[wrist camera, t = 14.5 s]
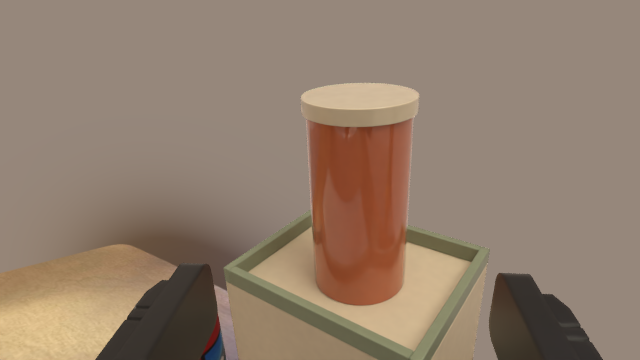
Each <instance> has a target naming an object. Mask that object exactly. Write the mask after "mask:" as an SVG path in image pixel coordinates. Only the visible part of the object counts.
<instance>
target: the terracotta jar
mask: <svg viewBox="0 0 640 360" xmlns="http://www.w3.org/2000/svg"><path fill="white" fill-rule="evenodd" d="M418 107H419V94H418V92H417V91H415V90H413V89H410V88H407V87H404V86H399V85H392V84H382V83H381V84H380V83H348V84H337V85H329V86H324V87H319V88H316V89H312V90H310V91H307V92H305V93H304V94H302V96H301V110H302V115H303V116H304V117H305V118H306V124H307V125H306V126H307V144H308V162H309V182H310V200H311V219H312V237H313V255H314V274H315V282H316V284H317V286H318V288H319V289H320V290H321V291H322V292H323V293H324V294H325V295H326V296H328V297H329V298H331V299H333V300H335V301H338V302H341V303H344V304H349V305H361V306H363V305H373V304H378V303H381V302H384V301H387V300H388V299H390V298H392V297H393V296H395V295H396V294H397V293H398V292H399V291H400V290H401V288H402V286H403V284H404V279H405V261H406V243H407V226H408V208H409V190H410V171H411V154H412V136H413V118H414V116H416V114H417V113H418Z"/></svg>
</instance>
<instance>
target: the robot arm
mask: <svg viewBox="0 0 640 360" xmlns="http://www.w3.org/2000/svg"><path fill="white" fill-rule="evenodd" d="M216 320H217V302H216V296H215V290H214V285H213V279H212V273H211V269H210V266H209V265H208V264H189V263H182V264H180V265H179V266H178V268H177V269H176V270H175V272H174V273H173V275H172V276H171V278H170V279H169V280H162V281H160V282H159V283H157V284H156V285H155V286H153V287H152V288H151V289H149V290H148V291H147V292H146V293H145V294H144V295H143V297H142V298H141V299H140V301H139V302H138V303H137V305H136V308H134V309H133V310H132V311H131V313H130V314H129V315H128V317H127V320H125V321H124V322H123V323H122V325H121V326H120V327H119V329H118V330H117V331H116V333H115V334H114V335H113V337H112V338H111V339H110V341H109V342H108V343H107V345H106V346H105V347H104V349H103V350H102V351H101V353H100V354H99V355H98V357H97V358H96V359H95V360H200V358H201V356H202V354H203V352H204V349H205V347H206V345H207V343H208V341H209V339H210V336H211V334H212V332H213V330H214V328H215V324H216ZM489 329H490V337H491V341H492V344H493V347H494V349H495V352H496V355H497V358H498V360H603V359H602V358H601V356H600V354H599V353H598V351H597V350H596V348H595V347H594V345H593V344H592V343H591V342H590V341H589V338H588V336H587V334H586V333H585V331H584V330H583V329H582V328H581V327H580V324H579V322H578V321H577V319H576V317H575V316H574V314H573V313H572V311H571V310H570V309H569V308H568V307H567V306H566V305H565V304H563V303H562V302H561V301H560V300H558V299H557V298H556V297H555V296H554V295H552V294H541V292H540V290H539V288H538V287H537V285H536V283H535V282H534V280H533V278H532V277H531V275H529V274H512V273H499V274H498V275H497V278H496V281H495V288H494V293H493V299H492V305H491V311H490V317H489Z"/></svg>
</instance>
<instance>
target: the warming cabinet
mask: <svg viewBox="0 0 640 360" xmlns="http://www.w3.org/2000/svg"><path fill="white" fill-rule="evenodd" d="M489 251H490V249H488V248H485V247H480V246H478V245H474V244H471V243H468V242H464V241H461V240H457V239H454V238H451V237H447V236H444V235H440V234H437V233H434V232H430V231H426V230H423V229H420V228H417V227H413V226H410V225H408V226H407V243H406V261H405V279H404V284H403V286H402V288H401V290H400V291H399V292H398V293H397V294H396V295H395V296H393V297H392V298H390V299H388V300H387V301H384V302H381V303H378V304H373V305H363V306H361V305H349V304H344V303H341V302H338V301H335V300H333V299H331V298H329V297H328V296H326V295H325V294H324V293H323V292H322V291H321V290H320V289H319V288H318V286H317V284H316V282H315V274H314V255H313V237H312V219H311V210H309V211H308V212H306V213H305V214H303V215H302V216H300V217H299V218H297V219H296V220H294V221H293V222H291V223H290V224H288V225H287V226H285V227H284V228H282V229H281V230H279V231H278V232H276V233H275V234H273V235H272V236H270V237H269V238H267V239H266V240H264V241H263V242H261V243H260V244H258V245H257V246H255V247H254V248H252V249H251V250H249V251H248V252H246V253H245V254H243V255H242V256H240V257H239V258H237V259H236V260H234V261H233V262H231V263H230V264H228V265H227V266H225V267H224V274H225V279H226V285H227V291H228V297H229V303H230V309H231V315H232V321H233V327H234V333H235V340H236V346H237V352H238V358H239V360H473V353H474V347H475V341H476V333H477V328H478V321H479V314H480V308H481V302H482V295H483V289H484V282H485V276H486V270H487V263H488V258H489Z"/></svg>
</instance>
